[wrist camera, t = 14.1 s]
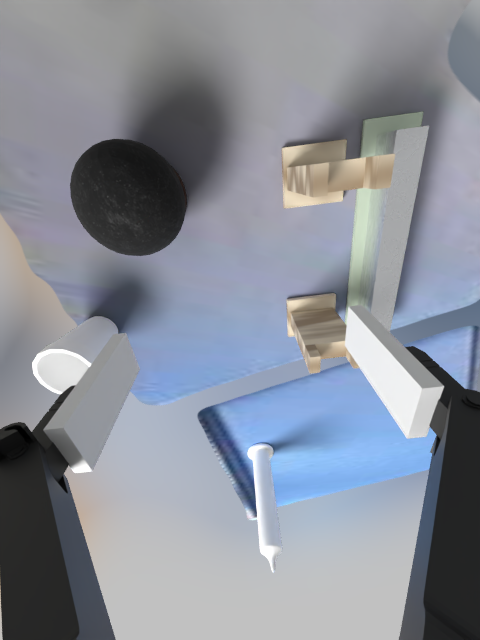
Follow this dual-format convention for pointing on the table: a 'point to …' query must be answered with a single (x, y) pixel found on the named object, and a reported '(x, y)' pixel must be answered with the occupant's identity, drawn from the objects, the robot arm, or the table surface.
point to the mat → (363, 194)
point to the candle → (266, 502)
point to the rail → (390, 222)
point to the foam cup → (72, 354)
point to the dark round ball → (128, 197)
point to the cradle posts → (318, 188)
